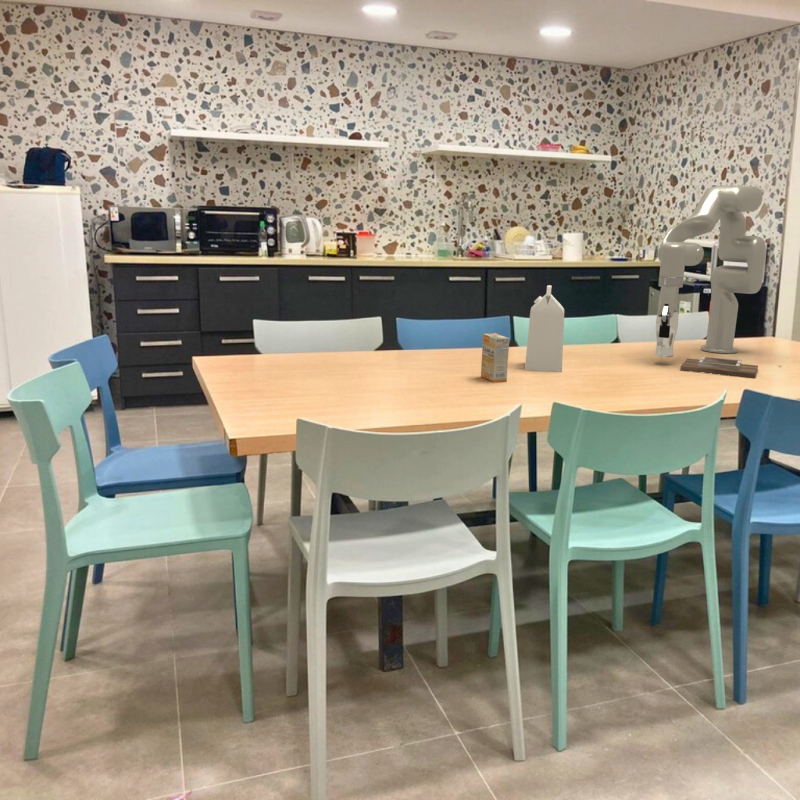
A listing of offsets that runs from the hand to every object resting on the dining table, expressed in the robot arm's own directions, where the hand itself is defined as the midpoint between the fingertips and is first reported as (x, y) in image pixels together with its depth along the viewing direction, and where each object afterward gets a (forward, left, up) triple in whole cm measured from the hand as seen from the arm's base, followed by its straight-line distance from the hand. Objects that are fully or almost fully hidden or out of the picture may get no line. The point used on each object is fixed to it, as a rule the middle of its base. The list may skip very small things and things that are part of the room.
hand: (665, 335), depth 253 cm
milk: (+30, -32, -10) cm, 45 cm away
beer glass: (0, 0, -7) cm, 7 cm away
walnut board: (+1, +18, -10) cm, 20 cm away
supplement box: (+57, -39, -10) cm, 70 cm away
